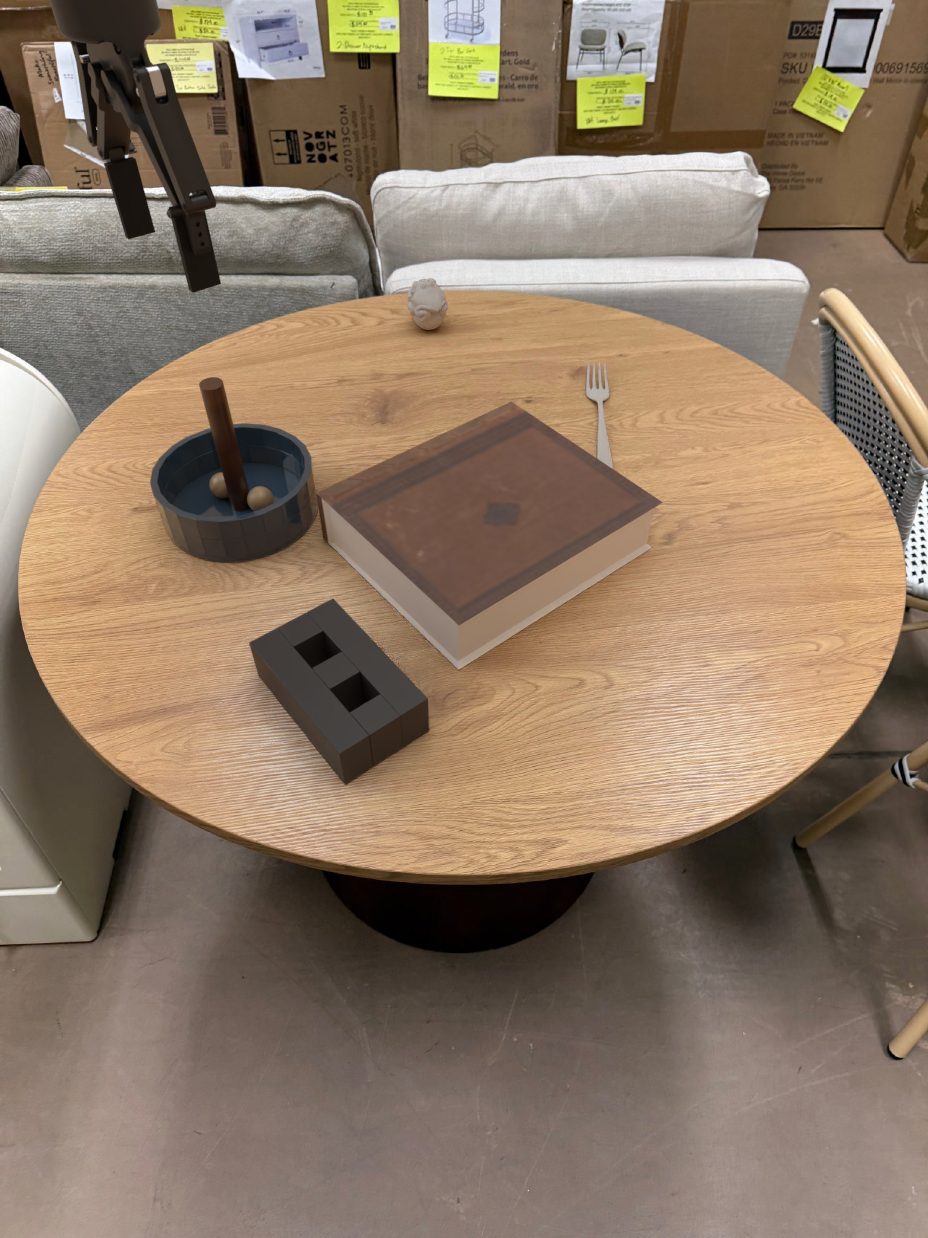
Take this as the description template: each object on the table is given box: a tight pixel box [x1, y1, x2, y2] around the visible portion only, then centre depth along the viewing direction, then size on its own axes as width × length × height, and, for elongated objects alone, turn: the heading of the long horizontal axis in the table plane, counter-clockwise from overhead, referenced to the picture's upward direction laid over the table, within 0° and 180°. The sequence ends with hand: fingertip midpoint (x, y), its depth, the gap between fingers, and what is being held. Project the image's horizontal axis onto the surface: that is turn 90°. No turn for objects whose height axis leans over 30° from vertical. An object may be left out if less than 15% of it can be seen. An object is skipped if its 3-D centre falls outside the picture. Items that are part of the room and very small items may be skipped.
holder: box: [249, 598, 430, 785], centre depth 75 cm, size 9×15×5 cm, turn 39°
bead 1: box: [209, 472, 229, 498], centre depth 95 cm, size 3×3×3 cm
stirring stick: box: [198, 376, 250, 511], centre depth 89 cm, size 2×2×16 cm
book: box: [316, 401, 664, 671], centre depth 89 cm, size 24×28×6 cm
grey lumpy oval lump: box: [406, 277, 449, 331], centre depth 122 cm, size 6×7×7 cm
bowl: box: [149, 422, 319, 563], centre depth 93 cm, size 18×18×6 cm
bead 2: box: [247, 486, 274, 511], centre depth 93 cm, size 3×3×3 cm
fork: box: [585, 361, 614, 469], centre depth 107 cm, size 3×24×2 cm, turn 177°
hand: (171, 259), depth 75 cm, fingers open, 13 cm apart
